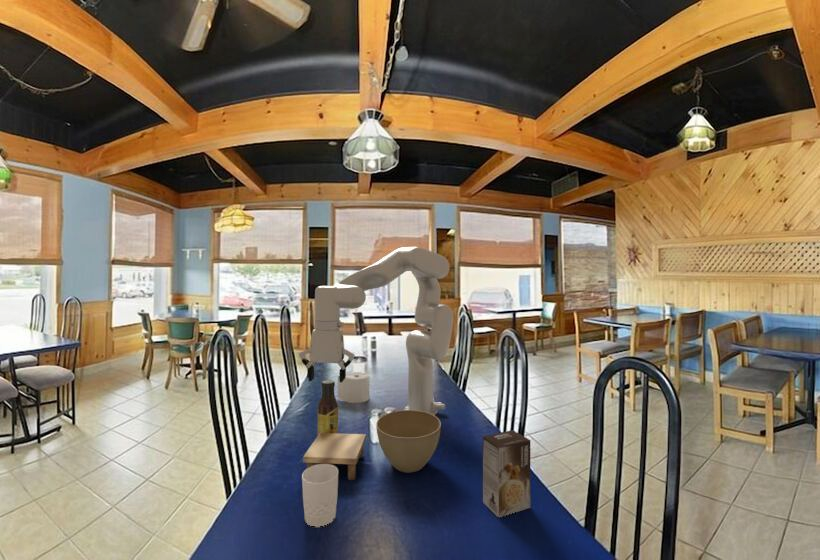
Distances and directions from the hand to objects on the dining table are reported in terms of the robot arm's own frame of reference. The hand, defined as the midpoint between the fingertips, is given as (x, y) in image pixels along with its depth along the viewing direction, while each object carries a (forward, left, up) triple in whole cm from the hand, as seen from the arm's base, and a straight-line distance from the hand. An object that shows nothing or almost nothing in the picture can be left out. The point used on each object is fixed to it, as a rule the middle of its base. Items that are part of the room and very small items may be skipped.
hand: (326, 380), depth 114 cm
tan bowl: (-26, +10, -21) cm, 35 cm away
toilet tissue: (0, -40, -21) cm, 45 cm away
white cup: (-8, +33, -21) cm, 40 cm away
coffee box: (-50, +26, -21) cm, 60 cm away
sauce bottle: (0, 0, -21) cm, 21 cm away
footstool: (-6, +12, -20) cm, 24 cm away
